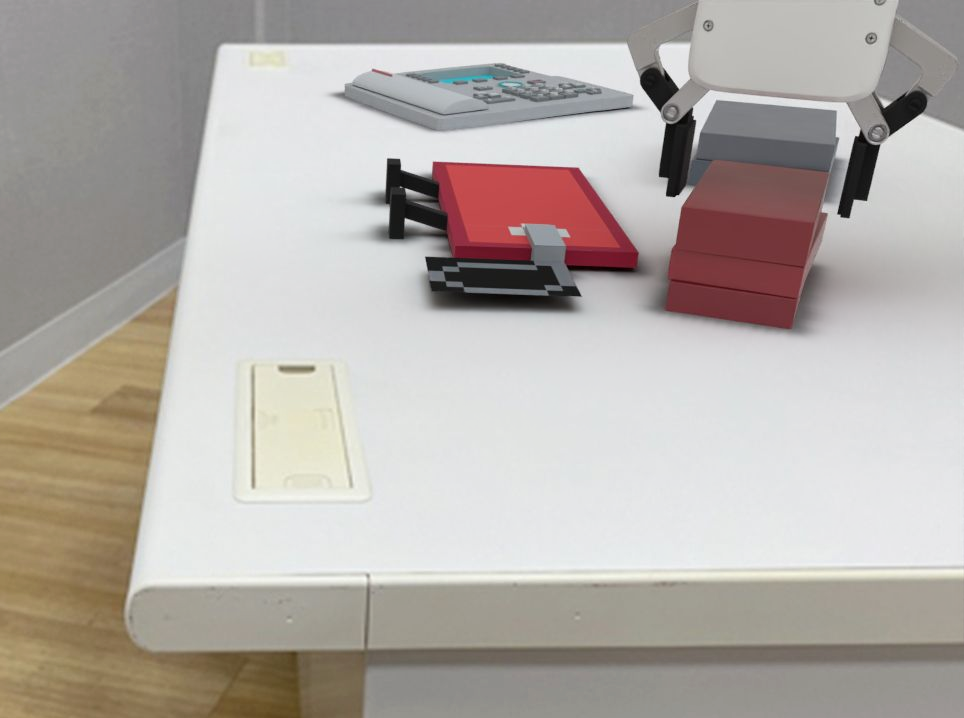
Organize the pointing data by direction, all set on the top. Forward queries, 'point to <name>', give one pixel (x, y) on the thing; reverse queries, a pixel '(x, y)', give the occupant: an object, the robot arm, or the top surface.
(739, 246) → the burgundy book
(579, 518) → the top surface
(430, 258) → the red board with handle
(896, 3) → the robot arm
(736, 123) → the grey books
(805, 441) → the top surface
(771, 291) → the burgundy books
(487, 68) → the office telephone
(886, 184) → the top surface
